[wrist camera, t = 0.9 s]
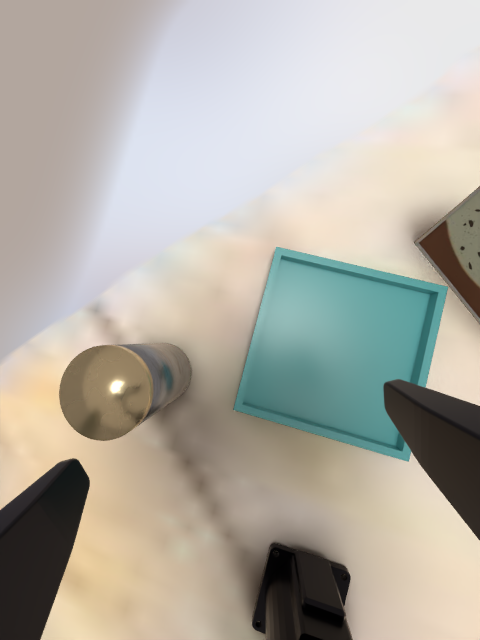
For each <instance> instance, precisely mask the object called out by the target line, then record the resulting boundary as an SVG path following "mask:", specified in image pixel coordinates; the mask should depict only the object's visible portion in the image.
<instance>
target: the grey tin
mask: <svg viewBox="0 0 480 640" xmlns="http://www.w3.org/2000/svg"><path fill="white" fill-rule="evenodd" d="M190 380H191V365H190V361H189V359H188V357H187V356H186V354H185V353H184V352H183V351H182V350H181V349H180V348H178V347H176V346H174V345H172V344H167V343H156V344H129V345H103V346H96V347H92V348H89V349H87V350H85V351H83V352H82V353H80V354H79V355H78V356H76V357H75V358H74V359H73V360H72V361H71V363H70V364H69V365H68V367H67V368H66V370H65V372H64V374H63V377H62V380H61V384H60V391H59V398H60V405H61V409H62V412H63V414H64V416H65V418H66V420H67V421H68V423H69V424H70V425H71V426H72V427H73V428H74V429H75V430H76V431H77V432H78V433H80V434H81V435H83V436H85V437H87V438H90V439H94V440H101V441H104V440H112V439H116V438H119V437H121V436H123V435H125V434H127V433H128V432H130V431H131V430H133V429H134V428H135V427H137V426H138V425H140V424H141V423H142V422H144V421H145V420H147V419H148V418H149V417H151V416H152V415H154V414H155V413H156V412H158V411H159V410H161V409H162V408H164V407H165V406H166V405H168V404H169V403H171V402H172V401H173V400H175V399H176V398H178V397H179V396H180V395H181V394H183V393H184V391H185V390H186V389H187V387H188V385H189V383H190Z"/></svg>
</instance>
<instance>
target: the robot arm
mask: <svg viewBox="0 0 480 640" xmlns="http://www.w3.org/2000/svg"><path fill="white" fill-rule="evenodd" d="M383 391H384V406H385V410H386V412H387V414H388V416H389V417H390V419H391V420H392V422H393V424H394V425H395V427H396V428H397V430H398V431H399V433H400V434H401V436H402V438H403V439H404V441H405V442H406V444H407V445H408V447H409V448H410V450H411V451H412V453H413V455H414V456H415V458H416V459H417V461H418V462H419V463H420V465H421V466H422V468H423V469H424V470H425V472H426V473H427V474H428V476H429V477H430V478H431V479H432V481H433V482H434V483H435V484H436V486H437V487H438V488H439V490H440V491H441V492H442V493H443V495H444V496H445V497H446V498H447V500H448V501H449V502H450V503H451V505H452V506H453V507H454V509H455V510H456V511H457V512H458V514H459V515H460V516H461V517H462V519H463V520H464V521H465V523H466V524H467V525H468V526H469V528H470V529H471V530H472V531H473V533H474V534H475V535H476V536H477V538H478V539H479V540H480V406H478V405H475V404H472V403H469V402H466V401H463V400H460V399H457V398H454V397H451V396H448V395H445V394H442V393H440V392H437V391H434V390H431V389H428V388H425V387H422V386H419V385H416V384H413V383H410V382H407V381H404V380H401V379H395V380H391V381H387V382H385V383H384V385H383ZM89 486H90V480H89V477H88V475H87V474H86V472H85V470H84V469H83V467H82V465H81V464H80V462H79V461H78V460H77V459H69V460H65V461H61V462H59V463H58V464H56V465H55V466H54V467H53V468H52V469H50V470H49V471H48V472H47V473H45V474H44V475H43V476H42V477H40V478H39V479H38V480H37V481H36V482H34V483H33V484H32V485H31V486H29V487H28V488H27V489H26V490H25V491H23V492H22V493H21V494H20V495H18V496H17V497H16V498H15V499H13V500H12V501H11V502H10V503H9V504H7V505H6V506H5V507H4V508H2V509H1V510H0V640H40V639H41V636H42V634H43V631H44V628H45V625H46V622H47V620H48V617H49V614H50V611H51V608H52V606H53V603H54V600H55V597H56V594H57V592H58V589H59V586H60V583H61V580H62V578H63V575H64V572H65V569H66V566H67V564H68V561H69V558H70V555H71V552H72V549H73V545H74V542H75V539H76V535H77V531H78V527H79V524H80V520H81V516H82V513H83V509H84V505H85V502H86V498H87V494H88V490H89ZM273 551H278V553H274V552H273ZM342 574H345V576H341V575H342ZM349 583H350V574H349V572H348V569H347V568H346V567H344V566H341V565H338V564H335V563H332V562H329V561H328V560H326V559H323V558H320V557H317V556H314V555H311V554H308V553H305V552H302V551H297V550H294V549H291V548H288V547H285V546H282V545H279V544H272V545H271V546H270V548H269V552H268V556H267V560H266V564H265V568H264V572H263V576H262V580H261V584H260V588H259V592H258V596H257V600H256V604H255V608H254V612H253V616H252V626H253V628H254V629H255V630H257V631H259V632H262V633H265V634H266V640H353V639H352V636H351V632H350V629H349V626H348V623H347V620H346V613H345V610H344V605H345V600H346V596H347V592H348V587H349ZM257 621H260V622H257Z"/></svg>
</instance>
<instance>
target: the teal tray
mask: <svg viewBox="0 0 480 640" xmlns="http://www.w3.org/2000/svg"><path fill="white" fill-rule="evenodd" d="M447 289H448V287H447V286H442V285H438V284H434V283H429V282H425V281H421V280H417V279H412V278H408V277H404V276H399V275H395V274H391V273H387V272H382V271H378V270H374V269H369V268H365V267H361V266H357V265H352V264H348V263H344V262H340V261H335V260H331V259H327V258H322V257H318V256H314V255H310V254H305V253H301V252H297V251H292V250H288V249H284V248H280V247H276V250H275V254H274V258H273V261H272V265H271V269H270V273H269V277H268V280H267V284H266V288H265V292H264V296H263V299H262V303H261V307H260V311H259V314H258V318H257V322H256V326H255V330H254V333H253V337H252V341H251V345H250V348H249V352H248V356H247V360H246V364H245V367H244V371H243V375H242V379H241V382H240V386H239V390H238V394H237V398H236V401H235V405H234V409H233V410H235V411H239V412H242V413H246V414H249V415H252V416H256V417H259V418H262V419H266V420H269V421H273V422H276V423H279V424H283V425H286V426H290V427H293V428H296V429H300V430H303V431H306V432H310V433H313V434H317V435H320V436H323V437H327V438H330V439H334V440H337V441H340V442H344V443H347V444H350V445H354V446H357V447H361V448H364V449H367V450H371V451H374V452H377V453H381V454H384V455H388V456H391V457H394V458H398V459H401V460H405V461H408V462H409V459H410V454H411V450H410V448H409V447H408V445H407V444H406V442H405V441H404V439H403V438H402V436H401V434H400V433H399V431H398V430H397V428H396V427H395V425H394V424H393V422H392V420H391V419H390V417H389V416H388V414H387V412H386V410H385V406H384V391H383V385H384V383H385V382H387V381H391V380H395V379H401V380H404V381H407V382H410V383H413V384H416V385H419V386H422V387H426V383H427V378H428V374H429V369H430V365H431V361H432V356H433V352H434V347H435V343H436V338H437V334H438V329H439V325H440V320H441V316H442V312H443V307H444V303H445V298H446V294H447Z"/></svg>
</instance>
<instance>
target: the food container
mask: <svg viewBox="0 0 480 640" xmlns="http://www.w3.org/2000/svg"><path fill="white" fill-rule="evenodd" d="M414 243H415V245H416V246H417V247H418V248H419V250H420V251H421V252H422V253H423V254H424V256H425V257H426V258H427V259H428V261H429V262H430V263H431V264H432V266H433V267H434V268H435V269H436V271H437V272H438V273H439V274H440V276H441V277H442V278H443V279H444V280H445V282H446V283H447V284H448V285H449V287H450V288H451V289H452V290H453V292H454V293H455V294H456V295H457V297H458V298H459V299H460V300H461V301H462V303H463V304H464V305H465V306H466V308H467V309H468V310H469V311H470V313H471V314H472V315H473V316H474V318H475V319H476V320H477V321H478V322H479V324H480V186H479V187H478V188H477V189H476V190H475V191H474V192H472V193H471V194H470V195H469V196H468V197H467V198H466V199H464V200H463V201H462V202H461V203H460V204H459V205H457V206H456V207H455V208H454V209H453V210H452V211H450V212H449V213H448V214H447V215H446V216H445V217H443V218H442V219H441V220H440V221H439V222H438V223H437V224H435V225H434V226H433V227H432V228H431V229H430V230H428V231H427V232H426V233H425V234H424V235H423V236H421V237H420V238H419V239H418V240H417V241H416V242H414Z"/></svg>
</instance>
